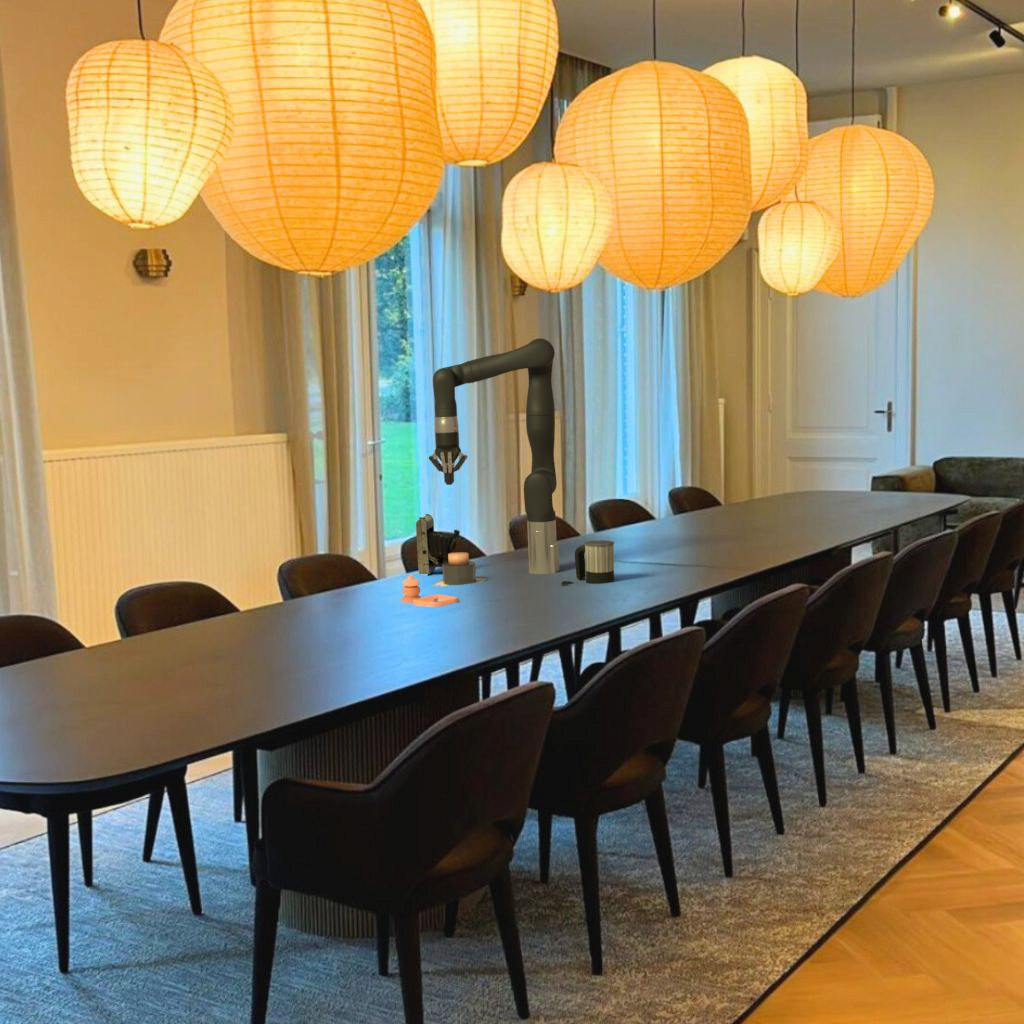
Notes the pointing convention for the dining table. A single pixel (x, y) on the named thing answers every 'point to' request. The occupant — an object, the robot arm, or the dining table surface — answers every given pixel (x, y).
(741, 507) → the dining table surface
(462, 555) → the tan mushroom shaped knob
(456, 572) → the squat olive cylinder
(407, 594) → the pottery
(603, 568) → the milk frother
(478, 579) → the birch board
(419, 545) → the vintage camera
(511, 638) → the dining table surface
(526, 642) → the dining table surface
